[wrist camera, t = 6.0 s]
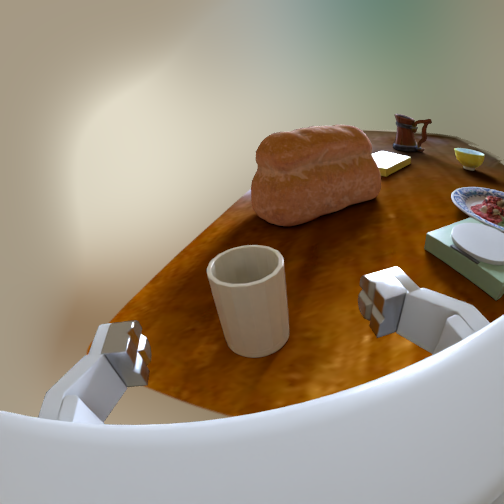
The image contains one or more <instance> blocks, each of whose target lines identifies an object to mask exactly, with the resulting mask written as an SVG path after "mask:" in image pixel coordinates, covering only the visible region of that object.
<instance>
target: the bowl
mask: <svg viewBox="0 0 504 504" xmlns="http://www.w3.org/2000/svg"><path fill="white" fill-rule="evenodd" d="M455 155H456V157H457V159H458V161H459V162H460V163H461V164H462V165H463V168H464V169H467V170H472V171H474V170H475V168H476V167H478V166H480V165H481V164H482V162H483V160H484V156H485V155H484V154H483V153H480V152H477V151H474V150H469V149H463V148H455Z"/></svg>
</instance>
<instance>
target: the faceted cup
mask: <svg viewBox="0 0 504 504" xmlns="http://www.w3.org/2000/svg"><path fill="white" fill-rule="evenodd" d="M206 272H207V275H208V279H209V283H210V287H211V290H212V294H213V298H214V301H215V305H216V308H217V312H218V315H219V319H220V322H221V326H222V329H223V333H224V336H225V339H226V343H227V345H228V346H229V348H230V349H231V350H232V351H233V352H235V353H237V354H239V355H241V356H244V357H252V358H256V357H264V356H267V355H270V354H272V353H274V352H276V351H278V350H279V349H280V348H281V347H283V345H284V344H285V343H286V341H287V340H288V337H289V314H288V302H287V290H286V279H285V268H284V258H283V256H282V255H281V254H280V253H279V251H277V250H275V249H273V248H271V247H268V246H261V245H246V246H240V247H236V248H232V249H229V250H227V251H224V252H222V253H220V254H218V255H217V256H216V257H215V258H214V259H212V260H211V261H210V262H209V265H208V267H207V269H206Z"/></svg>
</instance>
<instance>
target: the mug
mask: <svg viewBox="0 0 504 504" xmlns="http://www.w3.org/2000/svg"><path fill="white" fill-rule="evenodd" d="M395 118H396V125H397V135H396V139H395V142H394V144H393V148H394V149H396V150H402V151H420V152H423V151H424V149H421V144H422V143H423V142H425V141H426V139H427V135H426V128H427V125H428V124H431V123H432V122H431V119H427V120H418V121H416V122H415V120H414V119H412V118H410V117H407V116H405V115H401V114H395ZM419 123H424V126H423V128H422V139H421V140H420V141H419V142H418V144H416V141H415V138H414V133H416V131H417V128H418V127H416V126H417V124H419ZM413 132H414V133H413Z"/></svg>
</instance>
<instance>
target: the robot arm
mask: <svg viewBox="0 0 504 504" xmlns="http://www.w3.org/2000/svg"><path fill="white" fill-rule="evenodd" d="M360 287H361V288H362V291H361V292H360V294H359V295H358V305H359V310H360V312H361V314H362V316H363V317H364V319H367V320H369V321H370V325H369V326H370V328H371V329H372V331H373V332H374V334H375V335H376V337H377V338H378V337H382V336H385V335H388V334H391V333H394V332H396V333H398V334H399V335H401V336H403V337H404V338H406V339H408V340H410V341H411V342H413V343H415V344H417V345H418V346H420V347H422V348H423V349H425V350H427V351H429V352H430V353H432V354H433V355H432V356H430V357H428V358H426V359H424V360H421V361H419V362H417V363H415V364H413V365H410V366H408V367H406V368H403V369H401V370H399V371H396V372H394V373H391V374H389V375H386V376H384V377H381V378H379V379H376V380H373V381H370V382H368V383H365V384H362V385H359V386H356V387H353V388H350V389H347V390H344V391H341V392H338V393H335V394H331V395H328V396H325V397H321V398H318V399H314V400H310V401H307V402H303V403H299V404H295V405H291V406H287V407H282V408H278V409H273V410H268V411H263V412H258V413H253V414H247V415H242V416H235V417H229V418H222V419H214V420H206V421H197V422H185V423H171V424H149V425H110V424H104V421H105V420H106V418H107V417H108V415H109V414H110V413H111V411H112V409H113V408H114V407H115V405H116V404H117V402H118V401H119V400H120V398H121V396H122V395H123V394H124V392H125V391H126V390H127V387H134V386H144V385H148V380H149V372H150V371H149V369H148V367H147V365H148V364H149V363H150V362H151V356H152V355H151V347H150V344H149V341H148V339H147V337H145V336H144V335H142V334H141V331H142V327H141V325H140V323H139V322H138V321H136V320H133V321H124V322H115V323H108V324H101V325H100V326H99V327H98V329H97V332H96V334H95V337H94V340H93V343H92V345H91V348H90V351H89V354H88V355H85V356H84V357H83V358H82V359H81V360H79V362H77V363H76V364H75V365H74V366H73V367H72V368H71V369H70V370H69V371H68V372H67V373H66V374H65V375H64V376H63V377H62V378H61V379H60V380H59V381H57V382H56V383H55V384H54V385H53V386H52V387H51V388H50V389H49V390H48V391H47V392H46V395H45V397H44V400H43V403H42V407H41V410H40V413H39V416H38V418H36V417H30V416H25V415H20V414H15V413H10V412H6V411H1V410H0V504H504V315H502V316H501V317H499V318H498V319H496V320H495V321H493V322H492V323H490V322H489V321H488V320H487V319H486V318H485V317H484V316H483V315H482V314H481V313H480V312H479V311H478V310H477V309H476V308H475V307H474V306H473V305H471V304H468V303H465V302H462V301H460V300H457V299H454V298H451V297H448V296H446V295H443V294H440V293H437V292H434V291H431V290H428V289H426V288H419V287H418V286H417V285H416V284H415V283H414V282H413V281H412V280H411V279H410V278H409V277H408V276H407V275H406V274H405V273H404V272H403V271H402V270H401V269H400V268H399V267H396V266H395V267H391V268H388V269H385V270H382V271H378V272H375V273H371V274H367V275H363V276H362V277H361V279H360Z"/></svg>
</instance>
